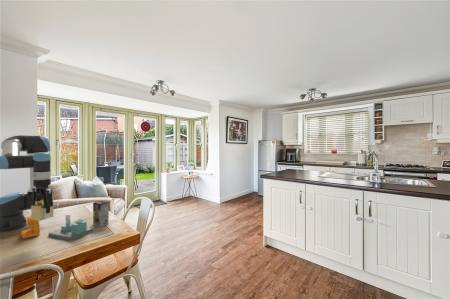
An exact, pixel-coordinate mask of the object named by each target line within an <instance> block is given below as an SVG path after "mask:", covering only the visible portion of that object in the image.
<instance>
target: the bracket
mask: <svg viewBox="0 0 450 299" xmlns="http://www.w3.org/2000/svg"><path fill="white" fill-rule="evenodd" d="M26 221H27V227H29V226H31V228H28V229H24V230H21V238H22V239H28V238H33V237H36V236H40V235H41V234H40V221H37V220H32V219H31V216H27V219H26Z"/></svg>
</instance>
